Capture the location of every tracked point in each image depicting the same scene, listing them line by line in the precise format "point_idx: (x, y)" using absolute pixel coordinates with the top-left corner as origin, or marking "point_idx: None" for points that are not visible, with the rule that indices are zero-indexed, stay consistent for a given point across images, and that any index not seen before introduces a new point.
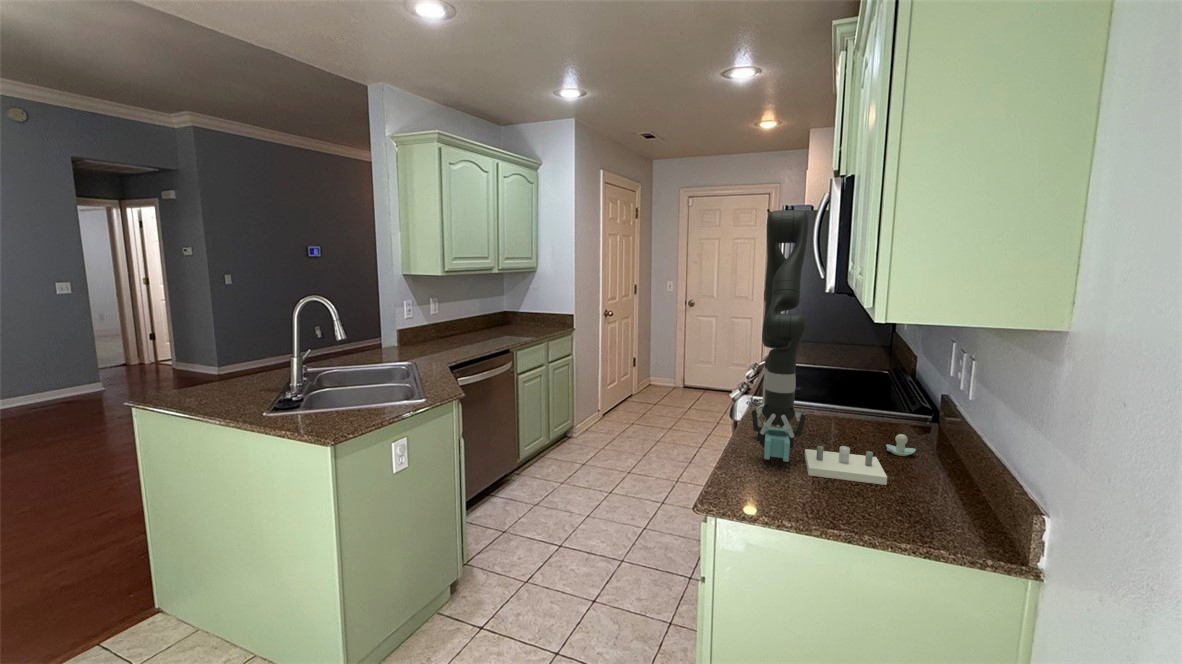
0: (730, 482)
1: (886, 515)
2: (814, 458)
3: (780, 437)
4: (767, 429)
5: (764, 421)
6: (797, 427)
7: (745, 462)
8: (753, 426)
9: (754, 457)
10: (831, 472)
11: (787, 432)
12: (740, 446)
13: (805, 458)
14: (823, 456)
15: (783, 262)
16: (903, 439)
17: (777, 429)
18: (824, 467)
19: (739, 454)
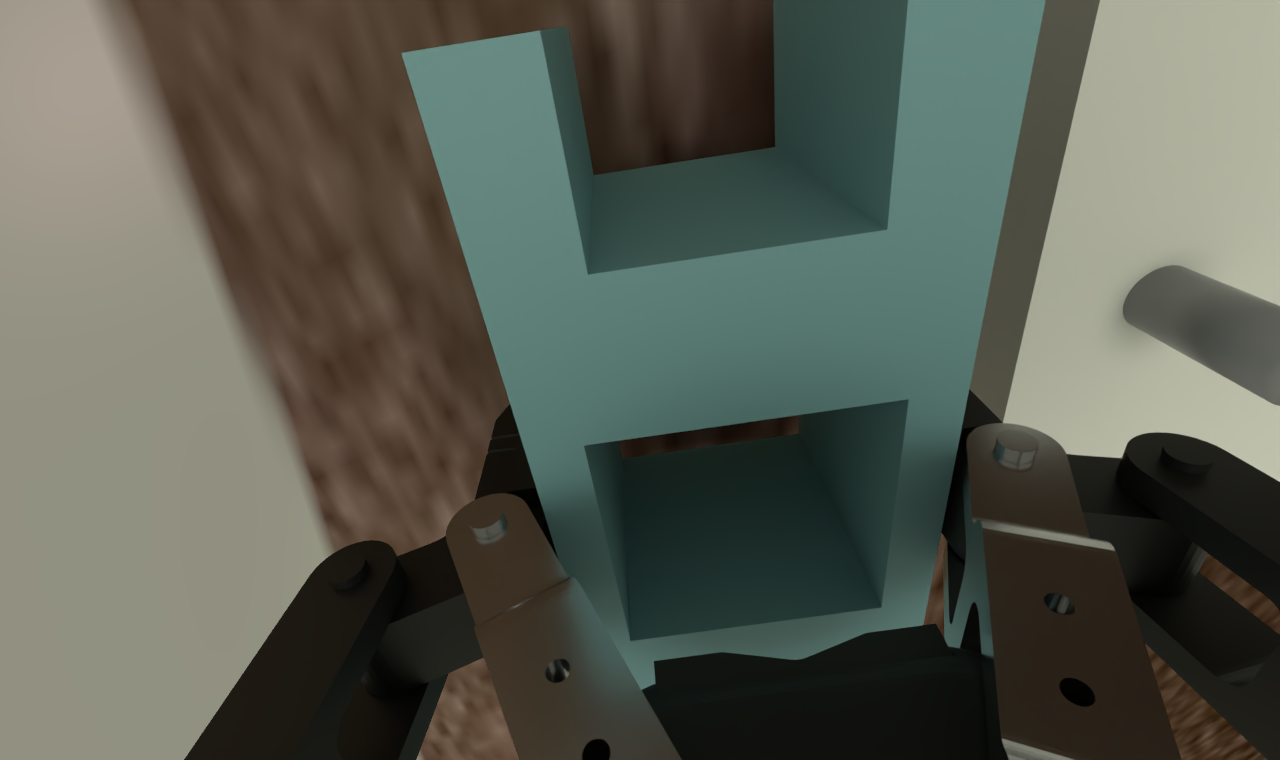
0: (482, 730)
1: (1202, 712)
2: (1110, 294)
3: (800, 655)
4: (566, 448)
5: (480, 644)
6: (1216, 550)
7: (452, 463)
8: (355, 734)
9: (483, 319)
10: None
11: (940, 438)
12: (183, 10)
13: (1018, 144)
14: (1256, 177)
15: None
16: None
17: (757, 363)
18: None
19: (320, 309)
